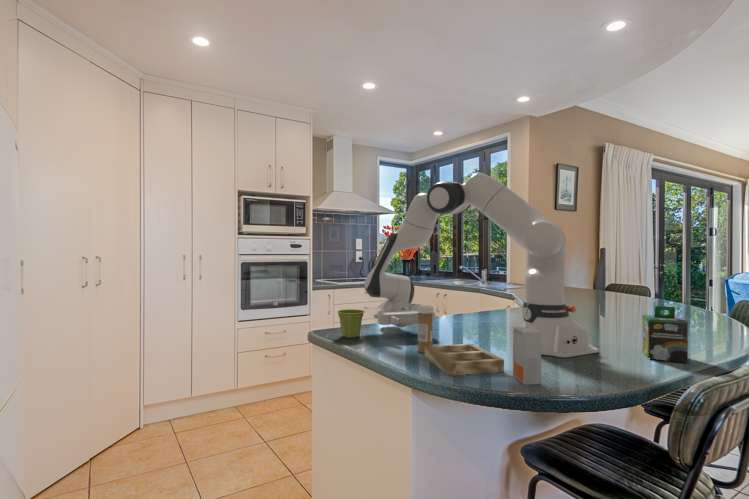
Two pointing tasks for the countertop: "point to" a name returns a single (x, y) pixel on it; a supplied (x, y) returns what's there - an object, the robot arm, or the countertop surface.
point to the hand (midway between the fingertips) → (413, 321)
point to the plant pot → (350, 322)
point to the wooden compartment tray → (464, 359)
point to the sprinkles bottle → (425, 327)
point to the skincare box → (527, 355)
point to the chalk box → (665, 336)
